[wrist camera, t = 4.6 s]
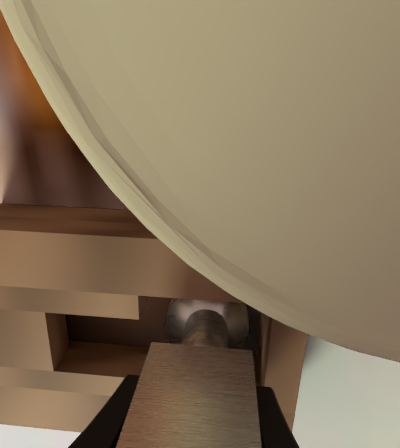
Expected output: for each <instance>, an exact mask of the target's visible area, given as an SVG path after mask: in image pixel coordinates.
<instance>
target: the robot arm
mask: <svg viewBox="0 0 400 448" xmlns="http://www.w3.org/2000/svg"><path fill="white" fill-rule="evenodd" d="M139 378H140V375H130V374H128V375H127V376H126V377H125V378H124V379H123V381H122V382H121V384H120V385H119V386H118V388H117V389H116V391H115V392H114V393H113V395H112V396H111V397H110V399H109V400H108V401H107V402H106V404H105V405H104V406H103V408H102V409H101V410H100V411H99V412H98V414H97V415H96V416H95V417H94V419H93V420H92V421H91V422H90V423H89V425H88V426H87V427H86V428H85V429H84V431H83V432H82V433H81V434H80V435H79V436H78V437H77V438H76V440H75V441H74V442H73V443H72V444H71V445H70V446H69V447H68V448H116V446H117V443H118V440H119V437H120V434H121V431H122V428H123V425H124V422H125V419H126V416H127V413H128V410H129V407H130V404H131V401H132V398H133V395H134V393H135V390H136V387H137V384H138V381H139ZM256 394H257V404H258V415H259V426H260V437H261V447H262V448H299V446H298V444H297V442H296V440H295V438H294V436H293V434H292V432H291V430H290V428H289V426H288V424H287V422H286V419H285V417H284V415H283V413H282V410H281V408H280V406H279V403H278V401H277V398H276V395H275V393H274V390H273V389H272V388H271V387H265V386H256Z"/></svg>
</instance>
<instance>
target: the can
mask: <svg viewBox="0 0 400 448" xmlns="http://www.w3.org/2000/svg"><path fill="white" fill-rule="evenodd" d="M0 9H1V11H2V13H3V16H4V18H5V20H6V22H7V24H8V27H9V29H10V31H11V33H12V35H13V38H14V40H15V42H16V44H17V45H18V47H19V49H20V51H21V53H22V55H23V56H24V58H25V60H26V62H27V64H28V66H29V67H30V69H31V71H32V73H33V75H34V77H35V78H36V80H37V82H38V84H39V86H40V87H41V89H42V91H43V93H44V95H45V96H46V98H47V100H48V102H49V104H50V105H51V107H52V108H53V110H54V112H55V113H56V115H57V116H58V118H59V120H60V121H61V123H62V125H63V126H64V128H65V129H66V131H67V132H68V133H69V135H70V136H71V138H72V139H73V140H74V142H75V143H76V144H77V146H78V147H79V149H80V150H81V151H82V153H83V154H84V155H85V157H86V158H87V160H88V161H89V162H90V163H91V165H92V166H93V167H94V169H95V170H96V171H97V173H98V174H99V175H100V177H101V178H102V179H103V180H104V182H105V183H106V184H107V186H108V187H109V188H110V190H111V191H112V192H113V193H114V194H115V195H116V196H117V197H118V198H119V199H120V200H121V201H122V202H123V203H124V204H125V206H126V207H127V208H128V209H129V210H130V211H131V212H132V213H133V214H134V215H135V216H136V217H137V218H138V219H139V221H140V222H141V223H142V224H143V225H144V226H145V227H146V228H147V229H148V230H149V231H150V232H152V233H153V234H154V235H155V236H156V237H157V238H158V239H160V240H161V241H162V242H163V243H164V244H165V245H166V246H167V247H169V248H170V249H171V250H172V251H173V252H174V253H175V254H177V255H178V256H179V257H180V258H181V259H182V260H183V261H184V262H186V263H187V264H188V265H189V266H191V267H192V268H194V269H195V270H196V271H198V272H199V273H201V274H202V275H203V276H205V277H206V278H208V279H209V280H210V281H212V282H213V283H215V284H216V285H217V286H219V287H220V288H222V289H223V290H225V291H226V292H228V293H229V294H231V295H232V296H234V297H236V298H237V299H239V300H241V301H243V302H244V303H246V304H248V305H249V306H251V307H253V308H255V309H256V310H258V311H260V312H262V313H264V314H265V315H267V316H269V317H271V318H273V319H275V320H277V321H279V322H281V323H283V324H285V325H287V326H290V327H292V328H295V329H297V330H299V331H302V332H304V333H307V334H309V335H312V336H314V337H317V338H320V339H323V340H325V341H328V342H331V343H334V344H336V345H339V346H342V347H345V348H347V349H350V350H354V351H357V352H361V353H365V354H369V355H373V356H377V357H381V358H385V359H389V360H393V361H397V362H400V0H0Z"/></svg>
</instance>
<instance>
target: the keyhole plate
mask: <svg viewBox="0 0 400 448" xmlns="http://www.w3.org/2000/svg"><path fill="white" fill-rule="evenodd" d="M148 296H151V297H165V298H179V299H193V300H207V301H221V302H235V303H244V302H243V301H241V300H239V299H237V298H236V297H234V296H232V295H231V294H229V293H228V292H226V291H225V290H223V289H222V288H220V287H219V286H217V285H216V284H215V283H213V282H212V281H210V280H209V279H208V278H206V277H205V276H203V275H202V274H201V273H199V272H198V271H196V270H195V269H194V268H192V267H191V266H189V265H188V264H187V263H186V262H184V261H183V260H182V259H181V258H180V257H179V256H178V255H177V254H175V253H174V252H173V251H172V250H171V249H170V248H169V247H167V246H166V245H165V244H164V243H163V242H162V241H161V240H160V239H158V238H157V237H156V236H155V235H154V234H153V233H152V232H150V231H149V230H148V229H147V228H146V227H145V226H144V225H143V224H142V223H141V222H140V221H139V219H138V218H137V217H136V216H135V215H134V214H133V213H132V212H131V211H130V210H116V209H97V208H78V207H59V206H40V205H21V204H2V203H1V204H0V424H5V425H15V426H24V427H34V428H44V429H53V430H63V431H73V432H83V431H84V429H85V428H86V427H87V426H88V425H89V423H90V422H91V421H92V420H93V419H94V417H95V416H96V415H97V414H98V412H99V411H100V410H101V409H102V408H103V406H104V405H105V404H106V402H107V401H108V400H109V399H110V397H111V396H112V395H113V393H114V392H115V391H116V389H117V388H118V386H119V385H120V384H121V382H122V381H123V379H124V378H125V377H126V376H127V375H128V374H130V375H141V372H142V369H143V366H144V363H145V360H146V357H147V354H148V351H149V348H150V347H142V346H130V345H118V344H106V343H94V342H81V341H69V340H68V334H67V326H66V318H65V314H71V315H84V316H97V317H110V318H123V319H136V320H139V318H140V316H141V314H142V312H143V309H144V307H145V305H146V302H147V300H148ZM307 336H308V334H307V333H304V332H302V331H299V330H297V329H295V328H292V327H290V326H287V325H285V324H283V323H281V322H279V321H277V320H275V319H273V318H271V317H269V316H267V315H265V314H264V313H262V312H260V321H259V331H258V341H257V350H256V356H253V362H254V372H255V383H256V386H265V387H271V388H272V389H273V390H274V393H275V395H276V398H277V401H278V403H279V406H280V408H281V410H282V413H283V415H284V417H285V419H286V422H287V424H288V426H289V428H290V430H291V432H292V428H293V422H294V416H295V410H296V404H297V398H298V392H299V385H300V379H301V373H302V367H303V361H304V355H305V349H306V342H307Z"/></svg>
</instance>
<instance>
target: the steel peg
mask: <svg viewBox="0 0 400 448" xmlns="http://www.w3.org/2000/svg"><path fill="white" fill-rule="evenodd" d="M165 331H166V334H167V337H168V339H169V341H170V342H171V344H169V343H157V342H151V345H150V348H149V351H148V354H147V357H146V360H145V363H144V366H143V369H142V372H141V375H140V378H139V381H138V384H137V387H136V390H135V393H134V395H133V398H132V401H131V404H130V407H129V410H128V413H127V416H126V419H125V422H124V425H123V428H122V431H121V434H120V437H119V440H118V443H117V446H116V448H262V447H261V437H260V426H259V415H258V404H257V394H256V383H255V372H254V362H253V351H252V350H243V349H241V348H242V347H243V345H244V344H245V342H246V340H247V337H248V333H249V321H248V311H247V307H246V304H245V303H235V302H221V301H207V300H193V299H179V298H172V299H171V301H170V304H169V307H168V310H167V314H166V318H165Z"/></svg>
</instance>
